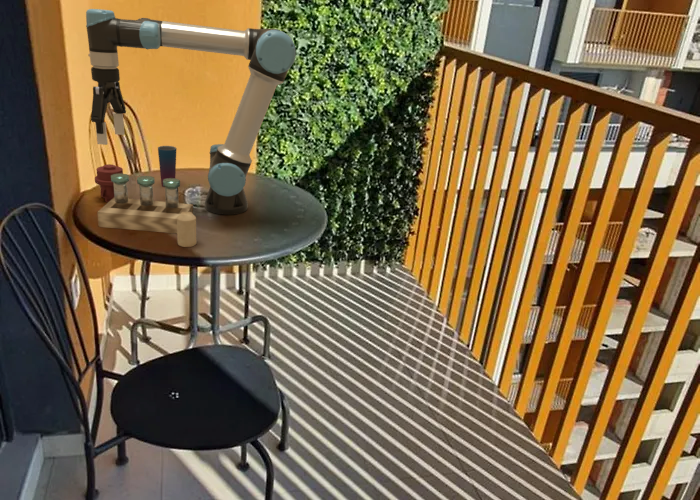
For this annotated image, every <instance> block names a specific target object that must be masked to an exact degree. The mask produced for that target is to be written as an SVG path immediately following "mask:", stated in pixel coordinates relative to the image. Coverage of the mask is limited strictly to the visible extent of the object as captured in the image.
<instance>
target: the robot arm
mask: <svg viewBox="0 0 700 500" xmlns="http://www.w3.org/2000/svg"><path fill="white" fill-rule="evenodd" d="M85 17H86V18H85V19H86V23H85V24H86V25H85V28H86V32H87V34H86V35H87V41H88V43H87V44H88V50H89V53H88V57H89V60H90V65H91V68H90V72H91V80H92V81H93V82H97V86H92V94H93V95H92V103H91V114H90V121H91V123H94V124H95V133H96V142H97V145H104V146H105V145H107V146H108V145H109V144H108V134H107V132H108V131H107V123H106V121H105V118H106V114H107V108H108V105H109V104H110V105H111V108H112V109H113V111H114V113H112V114H113V115H112V116H113V125H114V127H113V128H114V134H115V135H119V136H120V135H121V136H125V123H124V114H126V113H127V110H126V104H125V100H124V97H123V94H122V91H121V87H120V86H121V85H120V80H121V77H120V69H119V68H118V67H119V66H120V62H119V53H118V47H121V48H131V49H132V48H133V49H134V48H135V49H143V50H144V49H145V50H158V49H160V47H163V48H164V47H166V48H174V49H183V50H189V51H197V52H198V51H199V52H205V53H215V54H216V53H217V54H224V55H234V56H240V57H241V56H242V57H244V58H245V59H246V60H249V63H248V66H247V68H248V71H249V73H250V75H249V78H248V80H247V83H246V86H245V88H244V91H243V93H242V96H241V99H240V102H239V104H238V107H237V110H236V113H235V114H234V115H235V116H234V117H233V120H232V122H231V126H230V128H229V131H228V133H227V136H226V139H225V141H224V143H218V144H213V145H211V146H210V148H209V150H210V151H209V168H208V169H209V170H208V174H207V181H208V184H209V189H208V192H207V194H206V198H205V202H204V207H205V210H207V211H208V212H210V213H212V214H213V213H214V214H217V215H227V216H228V215H238V214H243V213H245V212H247V211H248V206H249V205H248V204H249V203H248V202H249V201H248V199H247V197H246V193H245V189H244V188H245V185H246V182H247V180H246V179H247V178H246V177H247V176H248V175H247V174H248V172H249V169H250V167H251V164H252V162H253V161H252V158H251V155H250V154H251V152H252V149H253V146H254V144H255V142H256V140H257V137H258V134H259V131H260V129H261V127H262V124H263V121H264V119H265V116H266V114H267V112H268V109H269V106H270V104H271V102H272V99H273V96H274V94H275V91H276V88H277V87H278V86H280V85H282V84H283V83H284V81H285V79H286V77H287V75H288V72H289V70H290V69H291V67H292V65H294V63H295V60H296V55H297V53H296V46H295V43H294V41H293V39H292V38H291V37H290V36H289V35H288V34H287V33H285V32H284V31H282V30H280V29H278V28H250V27H248V28H246V29H245V30H240V29H239V30H238V29H231V28H225V27H224V28H222V27H214V26H205V25H198V24H189V23H181V22H174V21H166V20H165V21H164V20H158V19H150V18H147V17H140V18H138V19H124V18H117V17H116V15H115V12H114V11H113V10H111V9H110V10H108V9H101V8H89V9H87V10H86V12H85Z"/></svg>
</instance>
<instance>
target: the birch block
mask: <svg viewBox="0 0 700 500" xmlns="http://www.w3.org/2000/svg"><path fill="white" fill-rule="evenodd" d="M153 202H154V204H153V205H150V206H143V205H141V204H140V199H136V198H128V202H127V203H122V204H120V203H116V202H115V197H114V198H113V199H112V200H111V201H109V202H106V204H105V205H104V206H102V207H101V208H100V209H98V211H97V224H98V227H99V228H107V229H108V228H109V229H121V230H132V231H133V230H135V231H142V232H143V231H144V232H145V231H146V232H158V233H167V234H177V217H178V216H179V215H180V214H181V213H182V212H191V213H192V214H193V215H194V204H193V203H192V204H191V203H181V202H179V206H178V207H176V208H168V207H166V201H161V200H160V201H159V200H153Z"/></svg>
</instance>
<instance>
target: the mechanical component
mask: <svg viewBox="0 0 700 500" xmlns="http://www.w3.org/2000/svg"><path fill="white" fill-rule="evenodd" d="M113 174H124V169H123V168H122V167H121V166H118V165H115V164H104V165H103V166H102V165H101V166H99V167H97V168H96V176H94V183H95V184H97V185H99V188H100V196H101V197H102V198H103V199H104V201H105V202H106V203H108V202H109V201H111V200H112V199H113V198H114V183H113V182H112V181H111V175H113Z"/></svg>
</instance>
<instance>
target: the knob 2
mask: <svg viewBox="0 0 700 500" xmlns="http://www.w3.org/2000/svg"><path fill="white" fill-rule="evenodd" d="M163 186H164V187H163ZM163 186H162V187H163V188H164V195H165V196H164V198H165V201H164V202H166V207H168V208H176V207H178V206H179V203H180V202H179V200H180V199H179V188H180V186H181V181H180V179H178V178H176V177H175V178H167V179H164V180H163Z"/></svg>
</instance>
